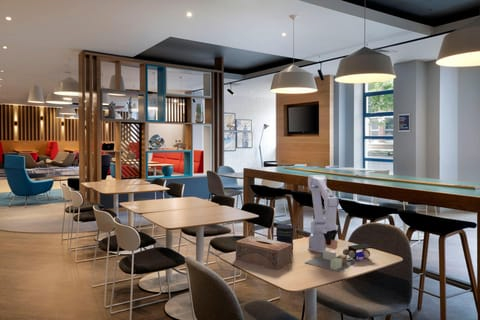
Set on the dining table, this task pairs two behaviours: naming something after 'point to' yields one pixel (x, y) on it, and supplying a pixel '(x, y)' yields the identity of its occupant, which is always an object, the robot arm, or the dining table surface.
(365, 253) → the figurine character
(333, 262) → the sage brick
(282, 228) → the storage jar
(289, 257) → the tissue box cover
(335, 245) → the terracotta brick
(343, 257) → the walnut brick
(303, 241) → the dining table surface
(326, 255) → the pale grey brick
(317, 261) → the felt mat
